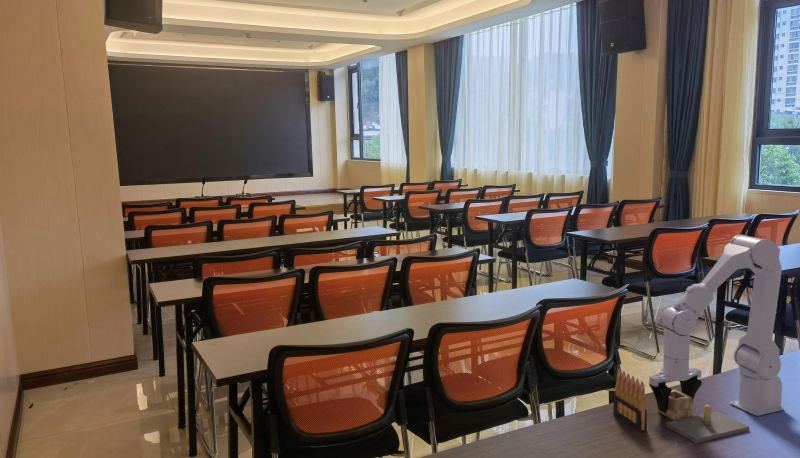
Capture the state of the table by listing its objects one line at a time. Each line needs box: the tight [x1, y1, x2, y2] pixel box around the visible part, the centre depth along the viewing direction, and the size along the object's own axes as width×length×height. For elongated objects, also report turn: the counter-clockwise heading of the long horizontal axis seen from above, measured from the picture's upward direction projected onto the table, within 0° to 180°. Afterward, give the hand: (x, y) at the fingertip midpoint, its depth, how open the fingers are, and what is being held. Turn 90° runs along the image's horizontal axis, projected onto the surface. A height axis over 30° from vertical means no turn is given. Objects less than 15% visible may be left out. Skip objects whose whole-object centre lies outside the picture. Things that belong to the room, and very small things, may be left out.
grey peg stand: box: [665, 404, 750, 444], centre depth 141 cm, size 16×9×6 cm, turn 110°
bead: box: [657, 388, 693, 421], centre depth 149 cm, size 5×5×5 cm
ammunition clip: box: [612, 368, 648, 432], centre depth 145 cm, size 11×2×12 cm, turn 15°
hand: (674, 408), depth 149 cm, fingers open, 7 cm apart
